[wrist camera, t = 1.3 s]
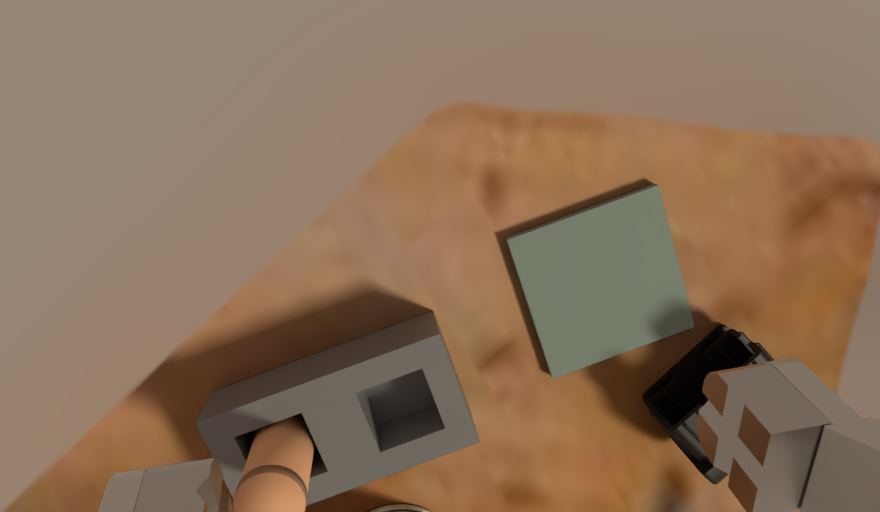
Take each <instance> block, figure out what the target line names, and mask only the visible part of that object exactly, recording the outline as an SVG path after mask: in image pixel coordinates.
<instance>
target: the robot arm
mask: <svg viewBox="0 0 880 512" xmlns="http://www.w3.org/2000/svg"><path fill="white" fill-rule="evenodd" d="M702 392H703V393H704V395H705V396H706V397H707V398H708V401H707V402H706V404H705V405H704V406H703V407H702V408H701V409H700V411H699V413H698V422H697V430H698V435H699V440H700V444H701V446H702V448H703V450H704V453H705V455H706V456H707V458H708V459H709V460H710V462H711V463H712V465H713V466H714V467H716V468H718V469H720V470H722V471H724V472H726V473H727V474H729V482H728V487H729V488H730V490H731V491H732V493H733V494H734V495H735V497H736V498H737V499H738V501H739V502H740V503H741V505H742V506H743V508H744V509H745V510H746V512H788V511H794V510H800V509H801V510H800V512H880V421H879V420H877V419H874V418H872V417H870V418H864V419H862V418H861V417H860V416H859V415H858V414H857V413H856V412H855V411H854V410H853V409H852V408H851V407H849V406H848V405H847V404H846V403H845V402H844V401H843V400H842V399H841V398H840V397H839V396H838V395H837V394H835V393H834V392H833V391H832V390H831V389H830V388H829V387H828V386H827V385H826V384H825V383H824V382H823V381H821V380H820V379H819V378H818V377H817V376H816V375H815V374H814V373H813V372H812V371H811V370H810V369H808V368H807V367H806V366H805V365H804V364H803V363H802V362H801V361H799V360H797V359H795V358H792V357H790V358H785V359H779V360H774V361H769V362H764V363H763V364H754V365H749V366H743V367H738V368H732V369H727V370H721V371H716V372H710V373H708V375H707V376H706V378H705V379H704V383H703V389H702ZM222 483H223V473H222V470H221V467H220V464H219V461H218V460H217V459H215V458H210V459H204V460H197V461H190V462H183V463H177V464H170V465H163V466H156V467H150V468H149V469H142V470H134V471H127V472H120V473H115V474H114V475H113V476H112V477H111V479H110V480H109V481H108V483H107V486H106V489H105V492H104V495H103V498H102V501H101V504H100V507H99V510H98V512H234V511H233V506H232V502H231V499H230V496H229V495H228V494H226V493H225V492H223V491H222Z"/></svg>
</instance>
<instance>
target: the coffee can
mask: <svg viewBox="0 0 880 512" xmlns="http://www.w3.org/2000/svg"><path fill="white" fill-rule="evenodd" d="M369 512H431V511H429V510H427V509H424V508H422V507H418V506H414V505H408V504H396V505H387V506H383V507H379V508H376V509H374V510H371V511H369Z"/></svg>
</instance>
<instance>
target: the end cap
mask: <svg viewBox="0 0 880 512" xmlns="http://www.w3.org/2000/svg"><path fill="white" fill-rule="evenodd" d="M769 361H774V359H773V358H772V357H771V356H770V355H769V354H768V352H767V351H766V350H765V349H764V348H763V347H762V346H761V345H760V344H759V343H754V342H752V341H750V340H749V339H748V338H747V337H746V335H745V334H744V333H743V332H737V331H736V330H734V329H730V328H728V327H727V326H725V325H719V326H718V327H716V328H715V329H714V330H713V331H712V332H711V333H710V334H709V335H708V336H706V337H705V338H704V339H703V340H702V341H701V342H700V343H699V344H698V345H697V346H695V347H694V348H693V349H692V350H691V351H690V352H689V353H688V354H687V355H685V356H684V357H683V358H682V359H681V360H680V361H679V362H678V363H677V364H676V365H674V366H673V367H672V368H671V369H670V370H669V371H668V372H667V373H666V374H665V375H663V376H662V377H661V378H660V379H659V380H658V381H657V382H656V383H655V384H654V385H652V386H651V387H650V388H649V389H648V390H647V391H646V392H645V393H644V394H643V401H644V402H645V403H646V404H647V406H648V407H649V409H650V410H651V415H652V416H653V417H654V418H655V419H656V420H657V421H658V422H659V423H660V424H661V425H662V426H663V429H664V430H665V431H666V432H667V433H668V434H669V436H670V437H671V438H672V440H673V441H674V442H675V443H676V444H677V445H678V447H679V448H680V449H681V450H682V451H683V452H684V454H685V455H686V456H687V457H688V458H689V460H690V461H691V462H692V463H693V464H694V465H695V467H696V468H697V469H698V470H699V471H700V472H701V473H702V474H703V475H704V476H705V477H706V478H707V479H708V480H709V481H710V482H711V483H713V484H718V483H719V482H720V481H721V480H722V479H723V478H725V477H726V476H727V475H728V474H727V473H726V472H724V471H722V470H720V469H718V468H716V467H714V466H713V465H712V463H711V462H710V460H709V459H708V458H707V456H706V455H705V453H704V450H703V448H702V446H701V444H700V440H699V435H698V430H697V422H698V413H699V411H700V409H701V408H702V407H703V406H704V405H705V404H706V402H707V401H708V398H707V397H706V396H705V395H704V393H703V392H702V389H703V383H704V379H705V378H706V376H707V375H708V373H710V372H716V371H721V370H727V369H732V368H738V367H743V366H749V365H754V364H763V363H764V362H769Z"/></svg>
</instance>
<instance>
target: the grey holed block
mask: <svg viewBox="0 0 880 512" xmlns="http://www.w3.org/2000/svg"><path fill="white" fill-rule="evenodd" d="M300 413H302V415H303V417H304V419H305V422H306V424H307V426H308V428H309V430H310V433H311V435H312V437H313V439H314V442H315V448H314V454H313V461H312V467H311V473H310V480H309V486H308V493H307V504H306V506H307V505H310V504H313V503H315V502H318V501H321V500H324V499H326V498H329V497H332V496H334V495H337V494H340V493H343V492H345V491H348V490H351V489H353V488H356V487H359V486H362V485H364V484H367V483H370V482H372V481H375V480H378V479H381V478H383V477H386V476H389V475H392V474H394V473H397V472H400V471H402V470H405V469H408V468H411V467H413V466H416V465H419V464H421V463H424V462H427V461H430V460H432V459H435V458H438V457H440V456H443V455H446V454H449V453H451V452H454V451H457V450H460V449H462V448H465V447H468V446H470V445H473V444H476V443H479V442H480V440H479V437H478V434H477V431H476V427H475V424H474V421H473V418H472V414H471V411H470V408H469V406H468V403H467V400H466V398H465V395H464V392H463V390H462V387H461V384H460V382H459V379H458V376H457V373H456V371H455V368H454V365H453V363H452V360H451V357H450V355H449V352H448V349H447V347H446V344H445V341H444V339H443V336H442V333H441V330H440V328H439V325H438V322H437V320H436V317H435V314H434V312H433V311H431V312H428V313H426V314H423V315H420V316H417V317H415V318H412V319H409V320H406V321H404V322H401V323H398V324H395V325H393V326H390V327H387V328H384V329H382V330H379V331H376V332H373V333H371V334H368V335H365V336H363V337H360V338H357V339H354V340H352V341H349V342H346V343H343V344H341V345H338V346H335V347H332V348H330V349H327V350H324V351H321V352H319V353H316V354H313V355H310V356H308V357H305V358H302V359H300V360H297V361H294V362H291V363H289V364H286V365H283V366H280V367H278V368H275V369H272V370H269V371H267V372H264V373H261V374H258V375H256V376H253V377H250V378H247V379H245V380H242V381H239V382H236V383H234V384H231V385H228V386H226V387H223V388H220V389H217V390H215V391H212V392H211V394H210V396H209V398H208V400H207V402H206V403H205V405H204V407H203V409H202V411H201V413H200V415H199V417H198V419H197V421H196V423H195V424H196V426H197V428H198V430H199V432H200V434H201V436H202V438H203V440H204V442H205V444H206V446H207V448H208V450H209V452H210V454H211V456H212V458H215V459H217V460H218V461H219V464H220V467H221V470H222V473H223V479H224V481H225V483H226V485H227V487H228V489H229V491H230V493H231V495H232V497H233V499H234V495H235V492H236V489H237V486H238V484H239V482H240V479H241V476H242V473H243V470H244V467H245V464H246V461H247V458H248V455H249V452H250V449H251V446H252V443H253V440H254V437H255V434H256V431H257V429H259V428H261V427H264V426H267V425H269V424H272V423H275V422H278V421H280V420H283V419H286V418H289V417H291V416H294V415H297V414H300Z"/></svg>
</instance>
